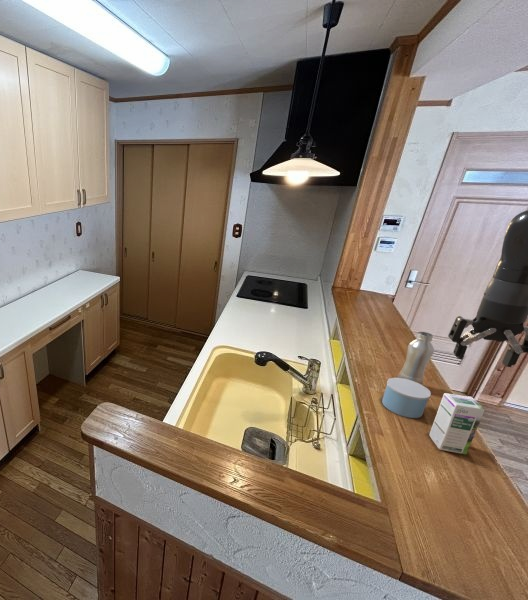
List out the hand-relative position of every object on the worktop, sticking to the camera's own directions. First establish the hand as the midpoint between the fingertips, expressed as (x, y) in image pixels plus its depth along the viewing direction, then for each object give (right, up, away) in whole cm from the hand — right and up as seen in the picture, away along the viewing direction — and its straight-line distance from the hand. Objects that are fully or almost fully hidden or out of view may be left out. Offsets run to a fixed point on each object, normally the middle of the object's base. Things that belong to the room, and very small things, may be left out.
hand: (481, 361), depth 78 cm
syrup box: (0, -25, +9) cm, 26 cm away
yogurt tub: (+1, -19, +24) cm, 30 cm away
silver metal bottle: (+12, -15, +34) cm, 39 cm away
